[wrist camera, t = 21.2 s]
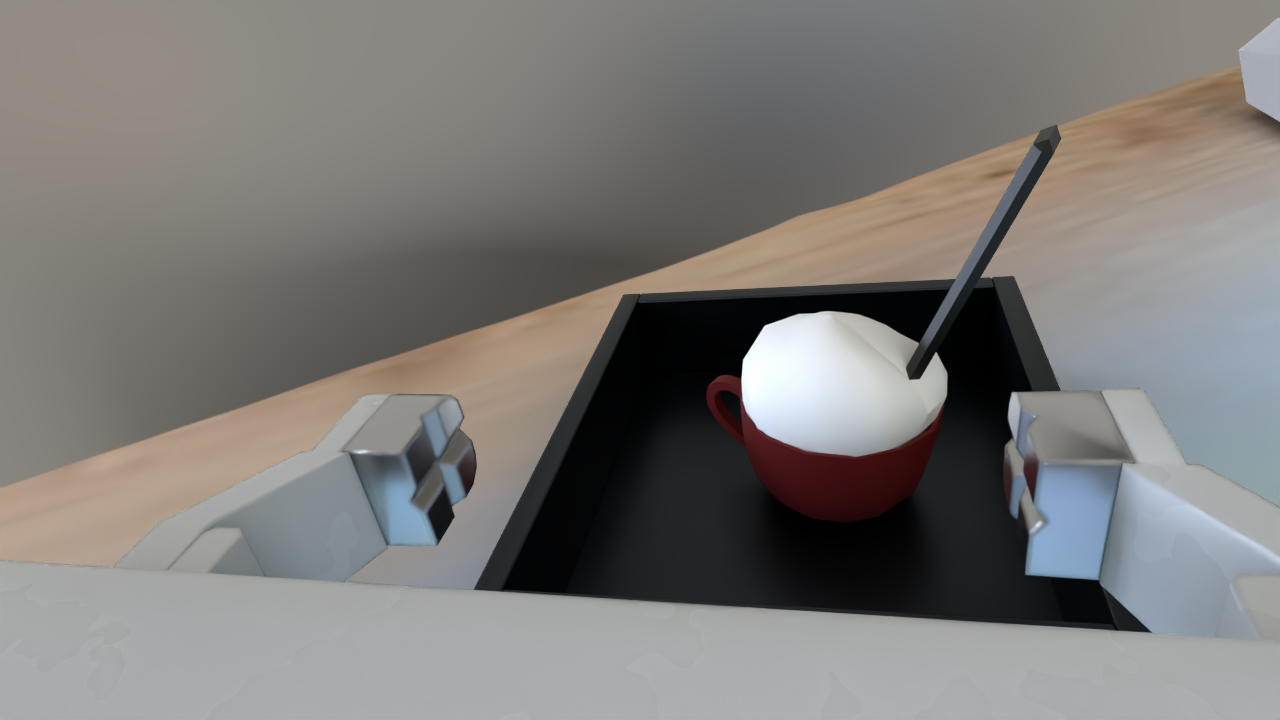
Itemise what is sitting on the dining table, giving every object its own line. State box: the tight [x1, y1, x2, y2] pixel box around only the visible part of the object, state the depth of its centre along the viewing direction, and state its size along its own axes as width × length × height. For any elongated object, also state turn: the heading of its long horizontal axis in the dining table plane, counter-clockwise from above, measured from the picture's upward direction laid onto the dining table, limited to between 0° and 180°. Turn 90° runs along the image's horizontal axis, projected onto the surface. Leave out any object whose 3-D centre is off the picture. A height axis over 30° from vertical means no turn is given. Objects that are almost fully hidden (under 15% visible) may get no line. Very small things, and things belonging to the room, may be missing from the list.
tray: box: [474, 276, 1152, 633], centre depth 26 cm, size 16×18×4 cm
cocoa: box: [706, 125, 1061, 523], centre depth 24 cm, size 10×6×12 cm, turn 38°
